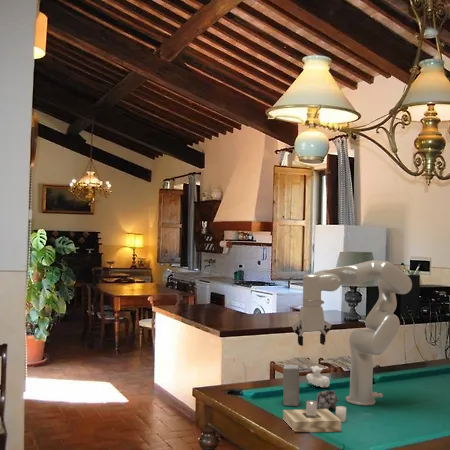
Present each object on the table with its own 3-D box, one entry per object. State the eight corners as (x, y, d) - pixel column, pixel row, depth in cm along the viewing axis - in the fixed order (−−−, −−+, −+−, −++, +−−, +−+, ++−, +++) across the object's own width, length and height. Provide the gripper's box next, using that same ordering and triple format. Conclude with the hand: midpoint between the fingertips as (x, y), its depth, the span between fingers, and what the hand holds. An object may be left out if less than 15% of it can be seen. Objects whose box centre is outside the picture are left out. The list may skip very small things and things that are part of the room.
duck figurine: (305, 389, 278) (299, 373, 272) (311, 377, 283) (305, 361, 277) (328, 394, 271) (322, 377, 266) (334, 381, 276) (328, 365, 270)
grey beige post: (314, 423, 222) (314, 400, 222) (317, 427, 218) (318, 403, 218) (304, 424, 221) (304, 400, 221) (307, 427, 217) (308, 403, 217)
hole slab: (326, 418, 228) (327, 408, 228) (340, 431, 214) (341, 420, 214) (282, 420, 224) (283, 409, 224) (294, 433, 211) (294, 422, 211)
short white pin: (343, 418, 229) (343, 405, 229) (347, 421, 225) (347, 409, 225) (333, 418, 229) (334, 406, 229) (337, 422, 225) (338, 409, 225)
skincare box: (298, 407, 242) (299, 369, 242) (281, 405, 243) (282, 367, 244) (299, 401, 250) (301, 364, 250) (283, 399, 252) (284, 363, 252)
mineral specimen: (322, 407, 231) (325, 383, 236) (306, 409, 238) (309, 386, 243) (343, 418, 236) (346, 394, 241) (326, 420, 242) (330, 397, 248)
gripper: (327, 301, 247) (327, 341, 247) (289, 303, 243) (288, 343, 243) (334, 304, 240) (334, 345, 240) (295, 305, 235) (295, 347, 235)
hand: (311, 344), depth 241 cm, fingers open, 9 cm apart
